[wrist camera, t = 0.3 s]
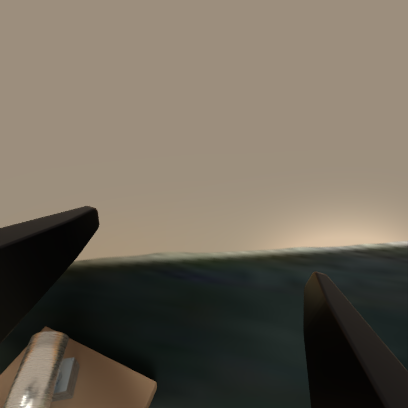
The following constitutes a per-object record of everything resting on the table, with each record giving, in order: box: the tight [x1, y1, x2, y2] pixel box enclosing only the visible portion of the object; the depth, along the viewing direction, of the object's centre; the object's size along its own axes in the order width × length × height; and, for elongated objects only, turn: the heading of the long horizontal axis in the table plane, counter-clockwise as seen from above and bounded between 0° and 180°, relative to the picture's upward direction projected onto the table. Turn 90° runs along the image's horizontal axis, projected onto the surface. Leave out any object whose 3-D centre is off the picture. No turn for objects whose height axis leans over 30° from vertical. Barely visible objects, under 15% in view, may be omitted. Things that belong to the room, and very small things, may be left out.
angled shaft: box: [3, 331, 80, 408], centre depth 15 cm, size 5×3×4 cm, turn 10°
